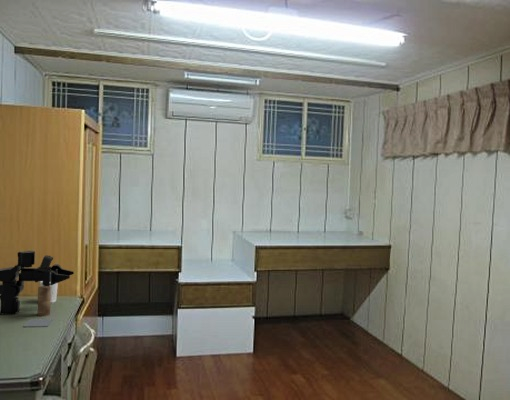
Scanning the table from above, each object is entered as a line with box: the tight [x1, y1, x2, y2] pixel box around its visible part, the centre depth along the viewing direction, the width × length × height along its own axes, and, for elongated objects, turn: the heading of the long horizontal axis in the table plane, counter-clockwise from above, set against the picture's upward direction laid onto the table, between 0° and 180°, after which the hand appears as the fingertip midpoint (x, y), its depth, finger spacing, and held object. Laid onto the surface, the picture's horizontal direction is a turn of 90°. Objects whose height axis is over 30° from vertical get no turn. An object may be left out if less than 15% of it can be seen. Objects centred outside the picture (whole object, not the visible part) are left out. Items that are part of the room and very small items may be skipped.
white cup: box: [39, 281, 59, 304], centre depth 222 cm, size 8×8×10 cm
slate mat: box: [23, 318, 54, 328], centre depth 189 cm, size 9×9×1 cm
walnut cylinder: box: [37, 285, 51, 317], centre depth 201 cm, size 5×5×12 cm
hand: (71, 274), depth 207 cm, fingers open, 9 cm apart
